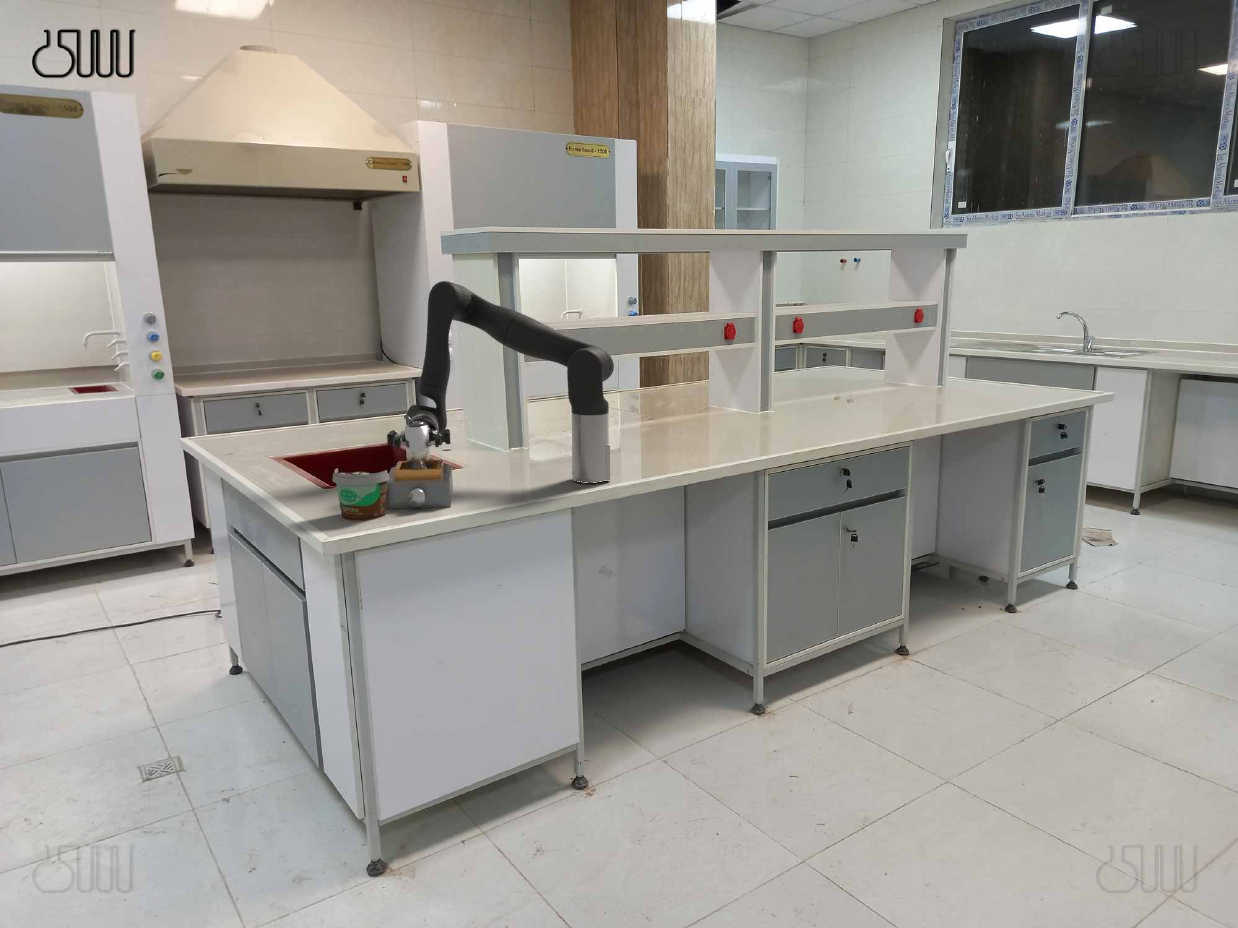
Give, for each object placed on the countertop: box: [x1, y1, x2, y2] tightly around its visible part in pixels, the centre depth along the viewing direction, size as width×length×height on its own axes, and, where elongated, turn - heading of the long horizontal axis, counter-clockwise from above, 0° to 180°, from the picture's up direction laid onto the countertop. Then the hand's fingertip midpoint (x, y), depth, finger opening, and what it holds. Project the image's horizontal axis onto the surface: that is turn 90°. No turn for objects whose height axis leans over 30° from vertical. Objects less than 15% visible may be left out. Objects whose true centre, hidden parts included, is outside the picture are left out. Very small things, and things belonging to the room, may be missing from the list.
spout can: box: [403, 413, 431, 470], centre depth 195 cm, size 5×5×14 cm
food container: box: [332, 467, 390, 522], centre depth 181 cm, size 12×6×10 cm, turn 81°
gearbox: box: [386, 459, 454, 510], centre depth 195 cm, size 14×19×8 cm
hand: (417, 443), depth 193 cm, fingers open, 8 cm apart
